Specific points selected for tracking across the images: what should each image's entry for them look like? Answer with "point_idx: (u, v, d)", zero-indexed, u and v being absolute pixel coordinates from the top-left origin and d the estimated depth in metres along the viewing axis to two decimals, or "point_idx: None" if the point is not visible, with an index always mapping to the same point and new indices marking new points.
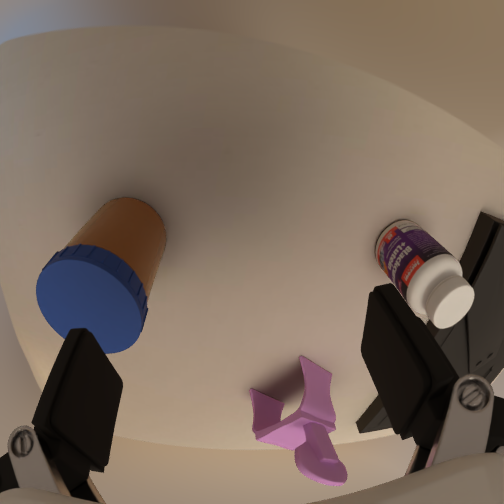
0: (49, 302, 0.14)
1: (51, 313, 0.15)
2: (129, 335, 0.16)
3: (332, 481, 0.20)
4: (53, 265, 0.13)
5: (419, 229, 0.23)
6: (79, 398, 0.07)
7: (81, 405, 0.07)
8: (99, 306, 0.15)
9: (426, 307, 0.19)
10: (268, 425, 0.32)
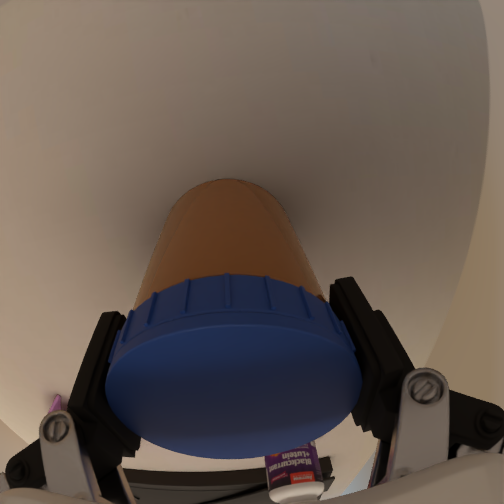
0: (226, 359, 0.06)
1: (184, 360, 0.06)
2: (210, 453, 0.08)
3: None
4: (350, 363, 0.06)
5: None
6: None
7: None
8: (262, 429, 0.08)
9: None
10: None
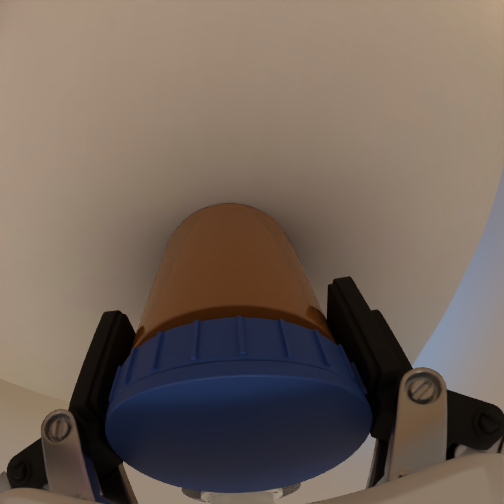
0: (281, 479, 0.07)
1: (307, 471, 0.07)
2: (213, 395, 0.05)
3: None
4: (198, 490, 0.07)
5: None
6: None
7: None
8: (196, 450, 0.06)
9: None
10: None
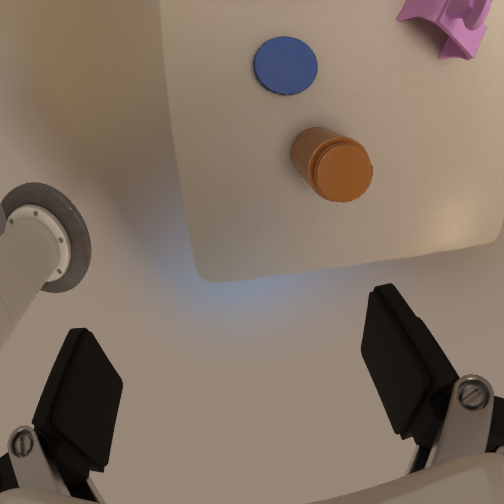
0: (303, 52, 0.27)
1: (297, 46, 0.27)
2: (261, 73, 0.28)
3: (485, 1, 0.13)
4: (315, 73, 0.28)
5: None
6: (79, 398, 0.07)
7: (81, 405, 0.07)
8: (285, 74, 0.28)
9: None
10: None
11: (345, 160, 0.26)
